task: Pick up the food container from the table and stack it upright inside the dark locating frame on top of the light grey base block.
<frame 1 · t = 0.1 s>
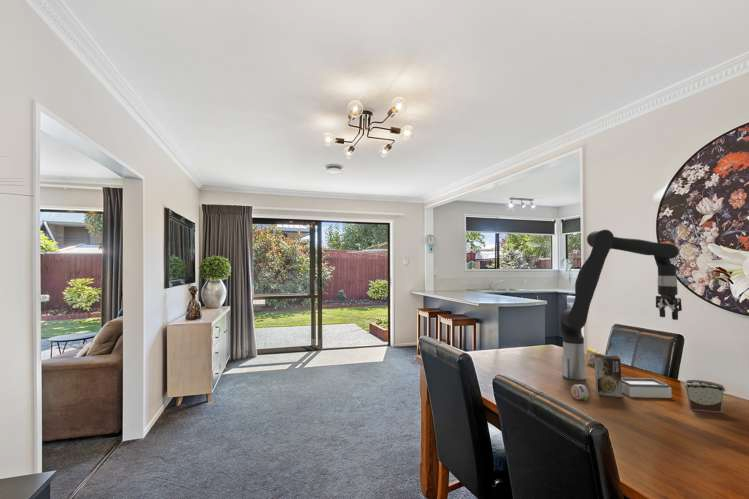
hand: (668, 318, 178), 29 cm above the table, tool pointing down, fingers open, 8 cm apart
candy box: (598, 368, 198), on the table
food container: (701, 408, 141), on the table
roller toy: (579, 399, 152), on the table
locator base: (642, 393, 158), on the table
coffee box: (608, 394, 158), on the table
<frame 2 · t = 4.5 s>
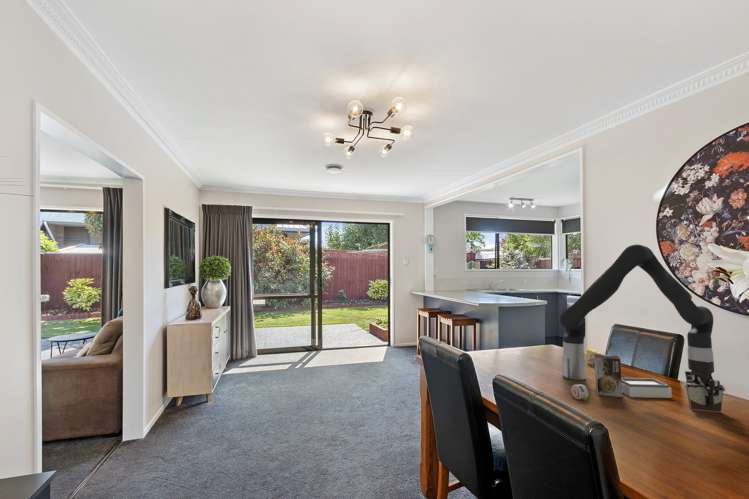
hand: (703, 402, 141), 2 cm above the table, tool pointing down, fingers closed on food container, 5 cm apart
food container: (701, 408, 141), on the table, touching gripper
everything else where it was.
when the fingers open (8 cm above the table, at t = 11.4 s): food container drops 1 cm, resting on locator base.
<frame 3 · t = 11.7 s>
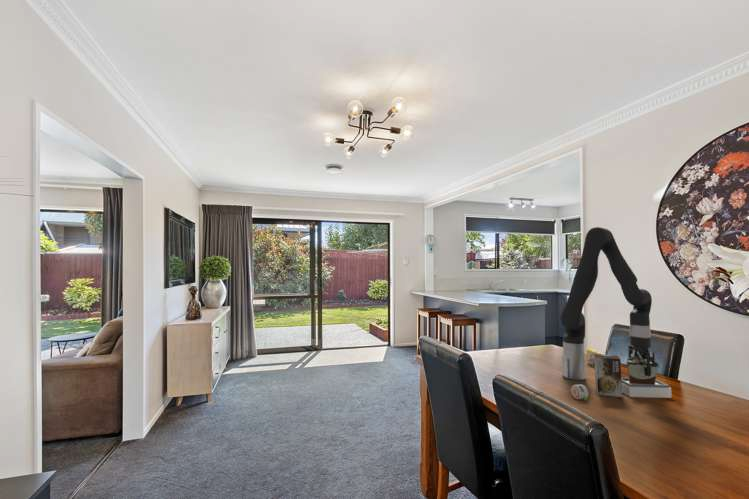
hand: (641, 373, 159), 9 cm above the table, tool pointing down, fingers open, 8 cm apart
food container: (639, 381, 160), point 4 cm above the table, touching gripper, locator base
everything else where it was.
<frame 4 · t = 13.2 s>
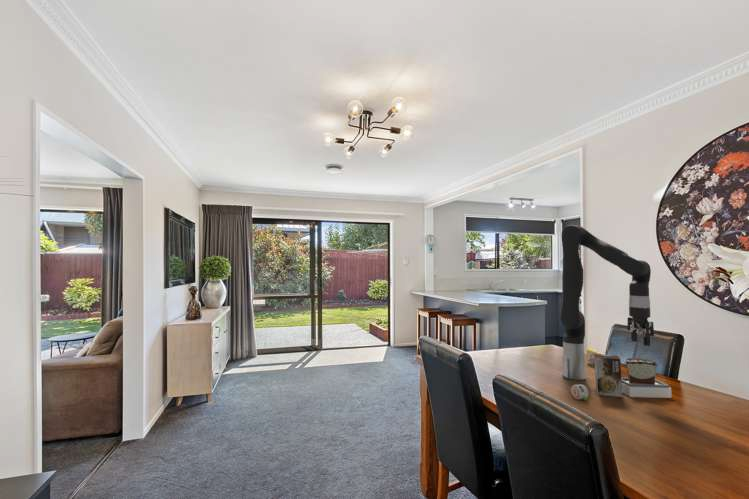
hand: (640, 343, 159), 21 cm above the table, tool pointing down, fingers open, 8 cm apart
food container: (639, 382, 160), point 4 cm above the table, touching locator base
everything else where it was.
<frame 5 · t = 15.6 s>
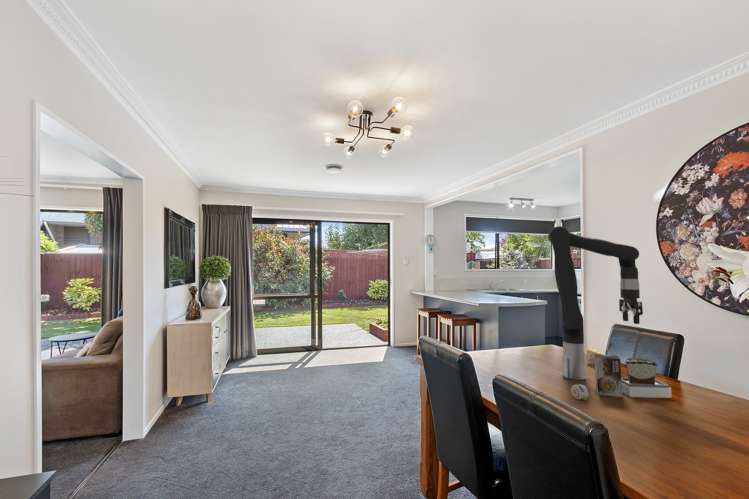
hand: (631, 322, 174), 28 cm above the table, tool pointing down, fingers open, 8 cm apart
nothing on the table moved.
at the end: food container 2.0 cm off-centre on the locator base, point 3.8 cm above the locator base's base; food container tilted 0°; the gripper is holding nothing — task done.
